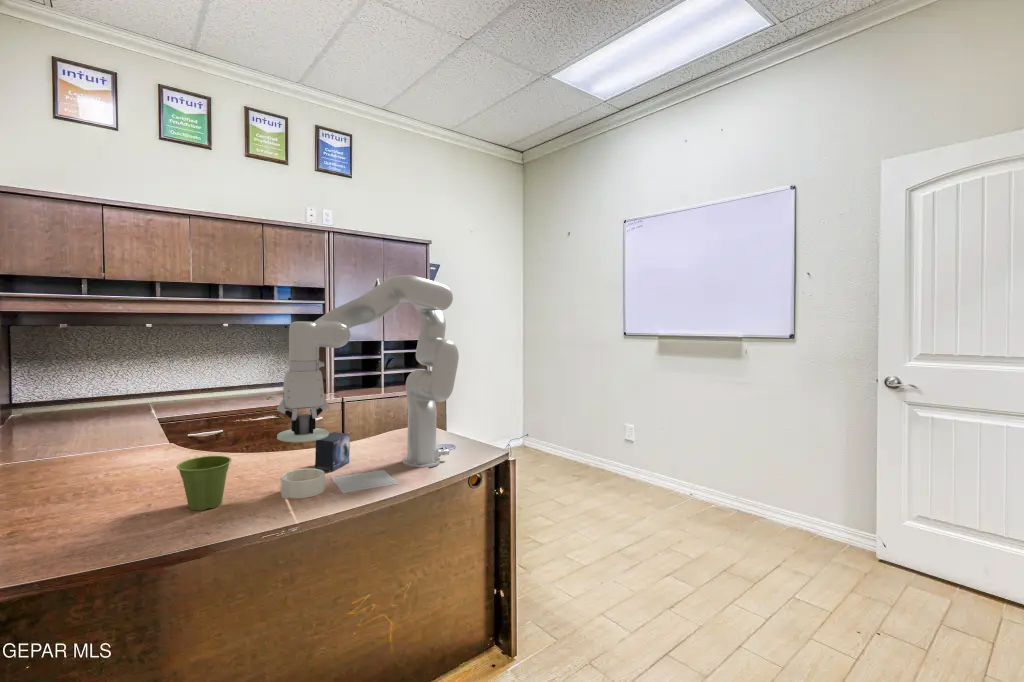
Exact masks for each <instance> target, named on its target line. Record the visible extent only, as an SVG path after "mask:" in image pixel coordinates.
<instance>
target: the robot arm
mask: <svg viewBox="0 0 1024 682" xmlns="http://www.w3.org/2000/svg"><path fill="white" fill-rule="evenodd" d="M453 295H454V294H453V292H452V290H451V288H450V287H449V286H447V285H445V284H443V283H441V282H437V281H434V280H431V279H427V278H424V277H421V276H418V275H414V274H404V275H393V276H390V277H388V278H387V279H386V280H384V281H382V282H381V283H379V284H378V285H376V286H375V287H374V288H372V289H370V290H369V291H367V292H365V293H364V294H362V295H361V296H359V297H356V298H354V299H352V300H350V301H348V302H346V303H344V304H341V305H339V306H338V307H335V308H334V309H332V310H330V311H328V312H326V313H325V314H323V315H322V316H320V317H319V318H317V319H316V320H314V321H301V320H300V321H299V320H298V321H293V322H291V323H290V324H289V326H288V327H289V329H288V335H289V337H288V352H289V353H288V371H285V373H284V379H283V387H282V399H281V401H280V403H279V405H278V406H277V408H276V410H277V412H280V413H282V414H284V415H286V416H287V417H288V418H289V419H290V420H291V428H290V429H291V430H292V431H294V434H295V435H298V420H297V415H298V409H309V413H310V414H309V415H310V433H313V429H315V428H316V419H317V418H318V416H319V415H320V414H322V412H323V411H325V410H327V409H329V407H330V404H329V403H328V401H327V399H326V398H325V390H324V379H323V374H322V371H321V370H320V368H322V367H325V362H324V361H321V360H319V359H320V348H331V349H338V348H342V347H344V346H345V345H347V344H348V343H349V342H350V339H351V330H350V329H352V328H354V327H357V326H360V325H361V326H362V325H365V324H370V323H372V322H373V323H374V322H375V321H379V319H381V318H383V317H384V316H385V315H386V314H388V313H389V312H391V311H392V310H395V308H396V307H398V306H399V305H401V304H403V303H411V305H412V306H413V307H414V309H415V310H416V311H417V313H418V315H419V316H418V317H419V318H420V327H419V334H418V338H417V345H416V348H415V349H416V350H415V359H416V361H417V362H418V364H420V365H423V366H426V367H431V368H432V369H431V370H429V369H415V370H413V371H412V372H410V373H409V374H408V376H407V377H406V381H405V392H406V398H407V442H406V443H407V447H406V448H407V450H406V451H407V452H406V456H405V457H404V458H402V460H401V461H402V462H401V463H402V464H403V465H404V466H406V467H410V468H411V467H412V468H433V467H436V466H438V465H440V464H441V458H440V457H442V456H448V455H450V451H449V449H448V448H447V449H443V448H437V419H438V416H437V415H438V411H437V404H436V402H437V403H443V402H445V401H447V400H448V399H449V398H450V396H451V395H452V394H453V390H454V386H455V383H456V382H455V381H456V377H457V376H456V375H457V371H458V365H459V357H460V356H459V350H458V347H457V345H456V343H454V342H453V341H452V340H450V339H445V336H446V330H447V328H446V327H447V322H446V321H447V320H446V317H445V314H444V312H443V311H444V310H447V309H448V308H449V307H451V305H452V303H453V299H454V296H453Z"/></svg>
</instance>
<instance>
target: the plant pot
mask: <svg viewBox="0 0 1024 682" xmlns="http://www.w3.org/2000/svg"><path fill="white" fill-rule="evenodd" d="M232 460H233V459H232V458H231V457H229V456H227V455H226V456H225V455H206V456H205V455H204V456H198V457H194V458H189V459H187V460H184V461H181V462H179V463H177V464H176V469H177V470H178V471H179V474H180V477H181V479H182V482H183V488H184V493H185V497H186V500H187V506H188V508H189V509H190V510H191V511H198V512H199V511H206V510H207V509H215V508H216V507H218V506H220V505H222V503H223V500H224V499H223V497H224V493H225V486H226V481H227V480H226V479H227V474H228V473H227V472H228V470H229V467H230V464H231V463H232Z"/></svg>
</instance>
